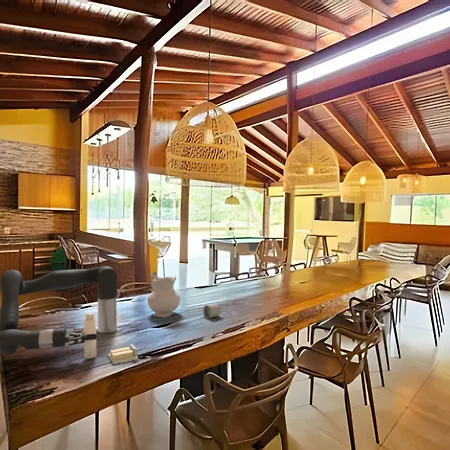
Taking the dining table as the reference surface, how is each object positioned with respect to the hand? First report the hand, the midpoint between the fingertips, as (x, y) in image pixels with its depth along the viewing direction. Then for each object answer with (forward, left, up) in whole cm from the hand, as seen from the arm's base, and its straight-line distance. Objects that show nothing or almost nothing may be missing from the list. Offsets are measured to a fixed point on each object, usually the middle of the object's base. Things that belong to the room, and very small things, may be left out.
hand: (96, 334), depth 148 cm
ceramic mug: (-27, +69, -11) cm, 75 cm away
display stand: (+5, +9, -10) cm, 15 cm away
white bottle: (-1, -3, -9) cm, 9 cm away
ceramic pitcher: (-46, +46, -11) cm, 66 cm away
